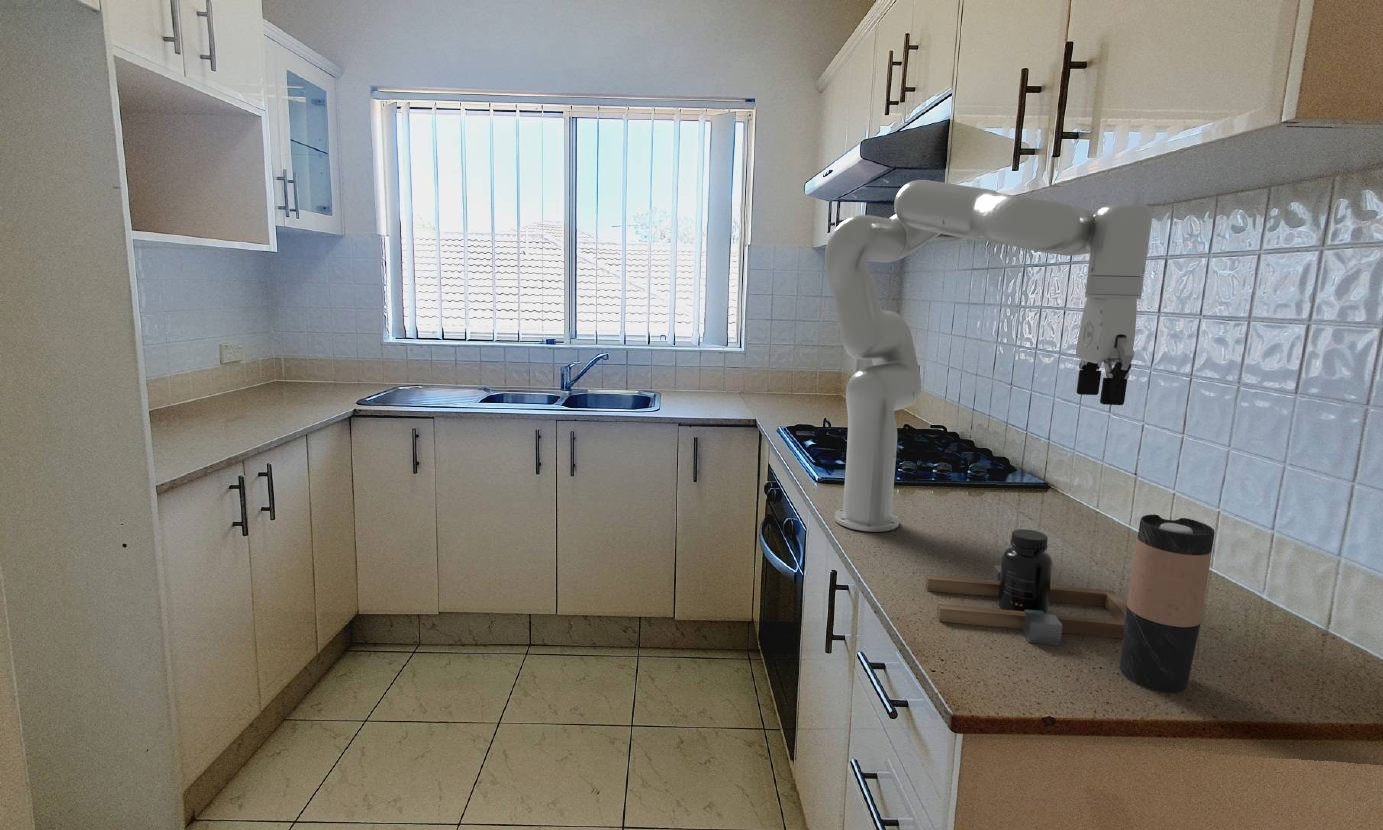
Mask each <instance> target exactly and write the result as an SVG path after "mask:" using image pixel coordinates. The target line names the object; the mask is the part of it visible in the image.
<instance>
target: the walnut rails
mask: <svg viewBox="0 0 1383 830" xmlns="http://www.w3.org/2000/svg"><path fill="white" fill-rule="evenodd" d="M925 581H926V582H925V588H926V591H927V592H938V593H950V594H961V595H972V596H973V595H974V596H982V597H996V598H998V593H999V583H1000V581H993V580H989V579H979V578H978V579H977V578H967V577H958V576H957V577H955V576H943V575H929V574H927V575H926V579H925ZM1049 602H1052V603H1065V604H1078V605H1086V606H1087V605H1088V606H1091V605H1092V606H1100V607H1101V606H1102V607H1105V609H1106V610H1107V611H1109V613H1110V614H1111V615H1112V616H1113V617H1114V619H1112V618H1102V617H1101V618H1100V617H1090V616H1078V615H1068V614H1067V615H1066V614H1055V613H1048V612H1047V613H1044V612H1043V611H1037V610H1026V609H1025V610H1024V611H1013V610H1002V609H1000V608H999V609H998V608H991V607H978V606H967V605H966V606H965V605H957V604H946V603H938V604H937V616H936V617H937V620H938V622H940V623H941V622H943V623H950V624H965V625H973V626H975V625H976V626H986V627H996V628H997V627H998V628H1005V629H1016V630H1018V629H1019V630H1022V628H1023V620H1024V612H1027V613H1038V614H1049V615H1055V616H1056V617H1057V618H1058V620H1059V621H1060V622H1061V624H1062V633H1061V634H1073V635H1082V636H1091V637H1092V636H1094V637H1101V638H1102V637H1103V638H1105V637H1106V638H1113V639H1115V638H1116V639H1123V635H1124V626H1125V617H1126V607H1127V602H1126V603H1125V601H1124V600H1123V599H1122V598H1121V597H1120V596H1119V595H1118V594H1117V593H1116V592H1115V591H1114V590H1110V589H1098V588H1086V587H1075V586H1073V587H1072V586H1062V585H1052V584H1051V585H1050V594H1049Z"/></svg>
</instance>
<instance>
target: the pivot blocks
mask: <svg viewBox="0 0 1383 830" xmlns="http://www.w3.org/2000/svg"><path fill="white" fill-rule="evenodd" d="M1000 572H1001V565H997V564H996V565H993V570H992V578H991V579H992V580H993V581H1000ZM1049 614H1050V613H1047V614H1038V613H1027V612H1024V620H1023V628H1022V629H1021V633H1022V634H1023V636H1024V638H1025V639H1026V641H1027V643H1029V644H1038V645H1049V646H1057V647H1058V646H1059V647H1060V646H1061V639H1062V634H1063V633H1062V624H1061V622H1060V621H1059V620H1058V618H1057V617H1056V616H1055V615H1049Z"/></svg>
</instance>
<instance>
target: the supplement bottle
mask: <svg viewBox="0 0 1383 830" xmlns="http://www.w3.org/2000/svg"><path fill="white" fill-rule="evenodd" d="M1010 538H1011V539H1010V546H1008V547H1007V548H1005V549H1004V551H1003V552H1002V556H1001V564H1000V566H1001V572H1000V583H999V593H998V597H997V606H998V608H999V609H1002V610H1013V611H1024V610H1025V609H1026V610H1037V611H1043V612H1044V613H1047V614H1048V609H1049V602H1050V601H1049V594H1050V585H1052V584H1051V583H1052V575H1053V574H1052V573H1053V566H1054V562H1053V561H1054V560H1053V558H1052V556H1051V555H1050V554H1049V553H1048V552H1047V550H1048V540H1049V539H1048V536H1047V535H1046V534H1045V533H1043V532H1041V531H1037V530H1033V529H1027V528H1026V529H1025V528H1020V529H1019V528H1018V529H1014V530H1013V531H1011V537H1010Z"/></svg>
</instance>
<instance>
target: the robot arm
mask: <svg viewBox="0 0 1383 830" xmlns="http://www.w3.org/2000/svg"><path fill="white" fill-rule="evenodd" d="M893 202H894V203H893V207H894V209H893V210H894V213H895V214H893V215H892V216H890V217H881V216H875V215H868V214H860V215H859V214H858V215H854V216H850V217H848V218H847V219H845V220H843V221H842V222H840V223H839V224H838V225H837V226H836V227H835V228H834V230H833V231H832V232H831V234H830V236H829V238H828V240H827V244H826V247H825V252H824V264H825V266H824V267H825V271H826V276H827V278H828V282H829V286H830V289H831V293H832V296H833V301H834V310H835V312H836V313H835V314H836V318H837V322H838V323H837V324H838V328H839V332H840V337H841V343H842V345H843V348H844V350H845V352H846V354H847V355H849V356H850V358H852V359H855V360H865V361H867V360H871V362H872V365H869V366H865V367H863V368H860V369H859V370H857V371H856V372H854V374H852V376H851V377H850V378H849V379H848V382H847V385H846V390H845V402H846V410H847V439H846V440H847V441H846V442H847V443H846V455H845V456H846V460H845V475H844V486H843V487H844V489H843V502H842V503H843V504H842V508H840V509H838V510H836V511H835V512H834V521H835V522H837V523H838V525H841V526H843V527H846V528H847V529H851V530H857V531H861V532H870V533H873V532H874V533H879V532H883V533H884V532H888V531H889V532H890V531H893V530H895V529H896V528H898V527H899V525H900V519H899V517H898V516H897V515H895V514H894V513H892V511H893V501H894V500H893V499H894V498H893V497H894V485H895V474H896V461H897V447H898V428H897V427H898V425H897V421H896V417H895V411H900V410H903V409H907V408H908V407H910V406H912V405H913V404H915V403H916V401H917V400H918V399H919V397H920V395H921V391H922V378H921V372H920V367H919V362H918V357H917V353H916V349H915V344H914V339H913V335H912V332H911V330H910V329H911V328H910V327H909V325H908V323H907V321H906V319H904V318H903V317H902V316H901V315H900V314H899V313H896V312H895V311H892V310H884V309H883V308H882V305H881V300H880V298H879V291H878V286H877V284H876V281H875V279H874V277H873V275H872V273H871V272H870V270H869V267H868V263H870V262H871V263H885V264H886V263H893V262H897V261H899V260H901V259H903V258H905V257H906V256H909V255H910V254H911V253H913V252H915V251H917V250H918V249H920V248H921V247H922V246H923V247H924V245H925V244H928V243H929V242H930V241H932V240H934V239H936V238H937V237H938V236H940V235H945V236H950V237H955V238H960V239H966V240H969V241H974V242H980V243H981V242H990V243H995V244H999V245H1000V244H1001V245H1004V246H1009V247H1014V248H1018V249H1019V248H1020V249H1024V250H1030V251H1034V252H1040V253H1044V254H1051V255H1052V254H1053V255H1058V256H1066V257H1067V256H1069V257H1070V256H1079V255H1080V256H1081V255H1087V254H1089V259H1088V266H1087V267H1088V268H1087V276H1086V284H1085V292H1084V293H1085V294H1084V298H1086V300H1085V303H1084V306H1083V311H1082V315H1081V319H1080V326H1079V331H1078V335H1077V336H1078V337H1077V343H1076V348H1075V355H1076V357H1077V359H1079V360H1080V361H1079V364H1078V369H1079V370H1078V379H1077V384H1076V385H1077V386H1076V394H1077V395H1082V396H1083V395H1085V396H1086V395H1087V396H1098V395H1099V393H1100V398H1099V403H1100V404H1101V405H1104V406H1105V405H1106V406H1107V405H1109V406H1123V405H1125V400H1126V392H1127V385H1128V380H1129V378H1130V370H1131V368H1132V362H1133V359H1134V357H1135V351H1134V348H1135V347H1134V346H1135V338H1136V330H1137V329H1136V326H1137V315H1138V314H1137V313H1138V309H1137V307H1138V305H1137V304H1138V300H1141V299H1142V294H1143V287H1144V280H1145V273H1146V267H1147V257H1148V253H1149V252H1148V251H1149V244H1150V237H1151V230H1152V222H1153V211H1152V209H1151V208H1150V207H1149V206H1147V205H1144V204H1136V203H1123V204H1122V203H1118V204H1109V205H1108V204H1107V205H1105V206H1102V207H1100V208H1099V209H1095V208H1094V209H1092V208H1085V207H1080V206H1076V205H1073V204H1069V203H1064V202H1058V201H1053V200H1047V199H1039V198H1033V197H1027V196H1020V195H1013V194H1007V193H1002V192H998V191H996V190H993V189H987V188H982V187H981V188H980V187H974V186H968V185H961V184H955V183H948V182H942V181H936V180H931V179H930V180H928V179H917V180H913V181H909V182H907V183H906V184H904V185H903V186H902V187H901V188H900V189H899V190H898V192H897V193H896V196H895V198H894V201H893ZM1102 364H1103V367H1104V371H1105V377H1103V378H1102V377H1101V376H1102V370H1100V368H1101V366H1102ZM1101 379H1102V382H1101ZM1100 384H1101V385H1100ZM1100 386H1101V391H1100Z"/></svg>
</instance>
